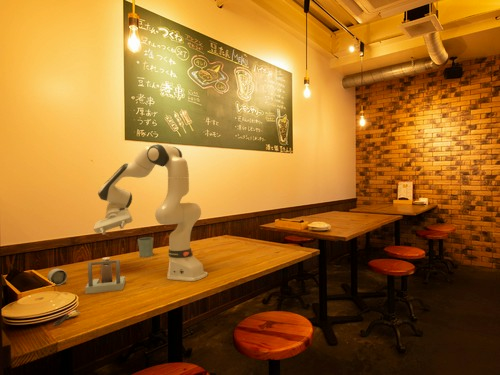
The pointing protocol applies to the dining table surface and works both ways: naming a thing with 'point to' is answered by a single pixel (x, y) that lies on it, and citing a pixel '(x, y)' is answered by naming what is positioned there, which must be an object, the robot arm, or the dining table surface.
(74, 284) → the dining table surface
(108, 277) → the sake bottle
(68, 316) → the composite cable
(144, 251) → the grey tapered bin
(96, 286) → the grey frame stand
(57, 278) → the ceramic mug
